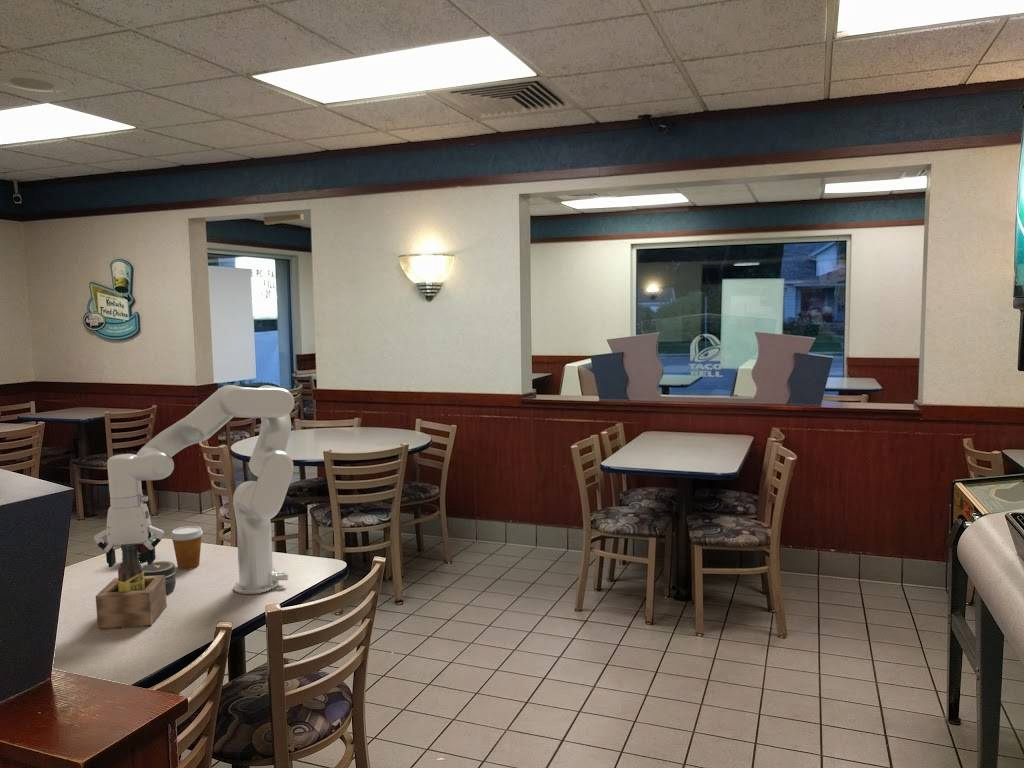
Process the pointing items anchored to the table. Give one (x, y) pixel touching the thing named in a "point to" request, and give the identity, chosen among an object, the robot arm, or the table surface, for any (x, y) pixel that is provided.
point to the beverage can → (143, 550)
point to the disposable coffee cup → (187, 546)
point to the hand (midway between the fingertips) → (131, 564)
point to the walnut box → (131, 604)
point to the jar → (162, 573)
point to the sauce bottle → (130, 570)
